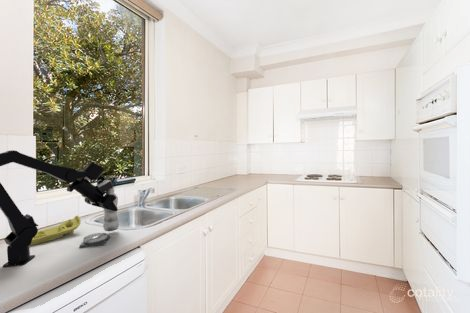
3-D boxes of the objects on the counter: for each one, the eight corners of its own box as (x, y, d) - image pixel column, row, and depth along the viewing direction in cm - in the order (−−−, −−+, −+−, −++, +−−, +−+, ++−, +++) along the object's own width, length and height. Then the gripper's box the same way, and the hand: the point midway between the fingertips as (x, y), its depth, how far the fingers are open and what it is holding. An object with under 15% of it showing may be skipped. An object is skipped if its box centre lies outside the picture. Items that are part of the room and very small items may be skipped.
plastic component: (27, 241, 98) (23, 226, 104) (29, 254, 101) (25, 239, 107) (83, 225, 111) (77, 213, 117) (83, 237, 114) (77, 224, 120)
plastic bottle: (116, 227, 116) (114, 186, 115) (121, 230, 111) (119, 187, 110) (101, 230, 111) (99, 187, 111) (106, 234, 107) (104, 189, 106)
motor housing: (104, 245, 98) (104, 239, 98) (79, 248, 96) (79, 241, 96) (110, 237, 107) (109, 231, 107) (87, 239, 104) (87, 233, 104)
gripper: (111, 176, 101) (135, 197, 111) (91, 173, 112) (115, 193, 122) (91, 197, 95) (119, 218, 105) (72, 193, 106) (99, 212, 116)
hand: (113, 209), depth 112 cm, fingers closed on plastic bottle, 6 cm apart
